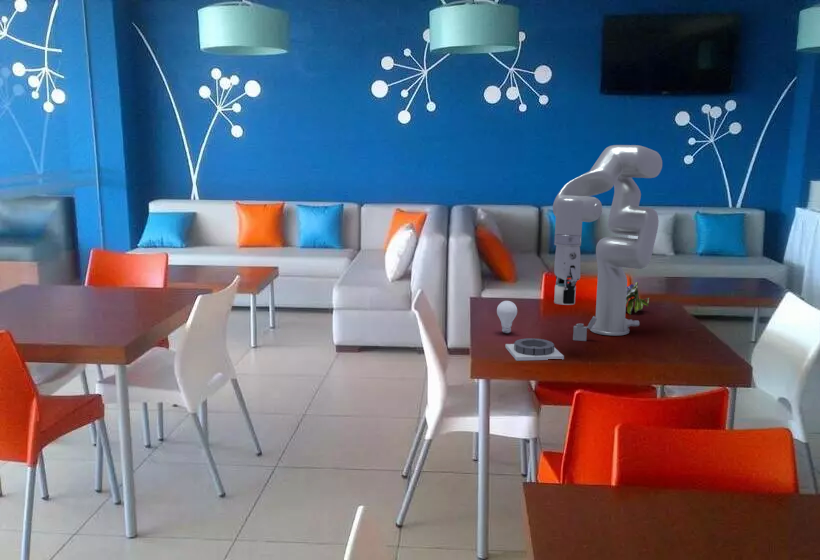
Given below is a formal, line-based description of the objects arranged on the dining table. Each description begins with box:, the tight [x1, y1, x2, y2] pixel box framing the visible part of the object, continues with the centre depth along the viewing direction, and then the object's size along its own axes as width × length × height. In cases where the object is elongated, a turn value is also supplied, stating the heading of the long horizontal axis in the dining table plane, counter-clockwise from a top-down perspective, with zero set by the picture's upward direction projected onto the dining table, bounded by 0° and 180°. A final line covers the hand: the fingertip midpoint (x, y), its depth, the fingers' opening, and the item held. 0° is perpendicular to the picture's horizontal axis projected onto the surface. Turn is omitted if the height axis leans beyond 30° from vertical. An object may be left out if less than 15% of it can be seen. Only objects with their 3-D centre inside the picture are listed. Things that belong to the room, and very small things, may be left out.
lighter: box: [572, 315, 597, 342], centre depth 233 cm, size 7×2×8 cm, turn 75°
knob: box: [553, 282, 577, 306], centre depth 215 cm, size 6×6×6 cm
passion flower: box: [626, 281, 650, 315], centre depth 274 cm, size 13×12×14 cm
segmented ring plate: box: [505, 337, 565, 362], centre depth 219 cm, size 14×14×3 cm
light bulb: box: [496, 300, 518, 335], centre depth 240 cm, size 7×7×11 cm
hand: (564, 300), depth 216 cm, fingers closed on knob, 5 cm apart
